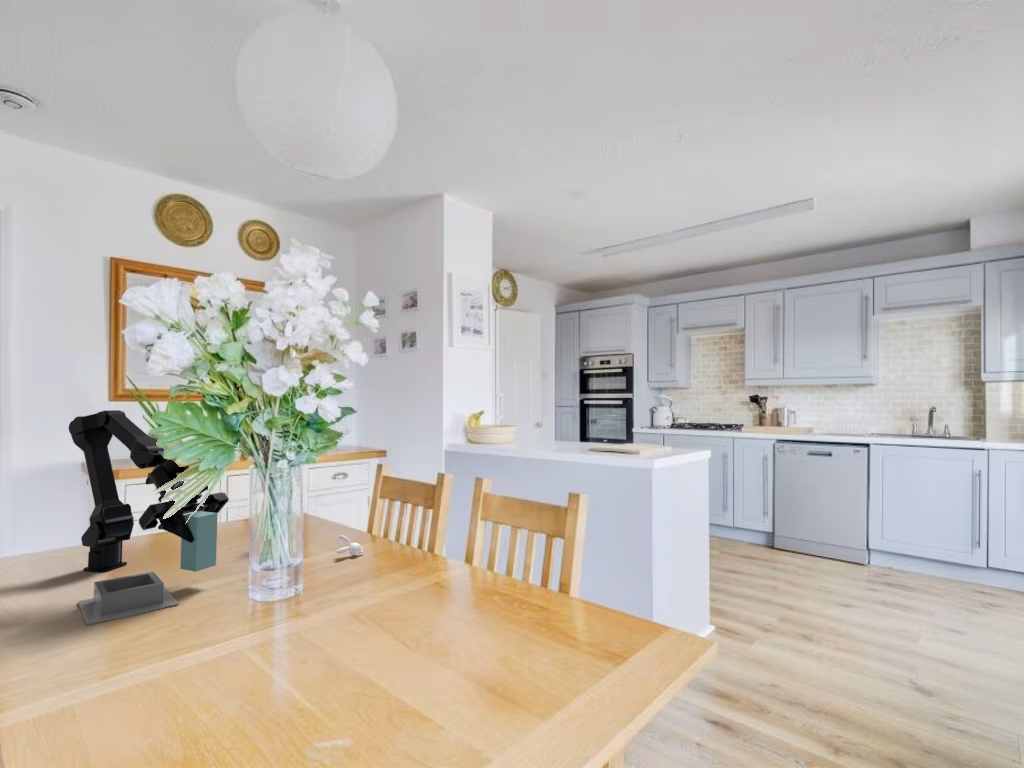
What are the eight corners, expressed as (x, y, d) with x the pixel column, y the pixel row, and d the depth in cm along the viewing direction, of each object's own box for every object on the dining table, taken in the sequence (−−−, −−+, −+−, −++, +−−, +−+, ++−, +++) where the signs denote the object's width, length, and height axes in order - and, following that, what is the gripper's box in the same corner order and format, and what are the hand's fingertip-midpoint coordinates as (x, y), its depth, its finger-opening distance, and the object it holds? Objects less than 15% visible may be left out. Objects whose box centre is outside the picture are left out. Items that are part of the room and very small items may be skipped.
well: (78, 603, 111) (78, 581, 112) (162, 586, 122) (163, 566, 122) (86, 625, 101) (87, 601, 101) (178, 605, 111) (179, 583, 111)
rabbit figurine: (365, 558, 145) (338, 548, 142) (357, 567, 147) (330, 557, 143) (367, 541, 150) (341, 531, 147) (359, 550, 152) (334, 540, 148)
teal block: (180, 568, 121) (182, 515, 121) (200, 562, 126) (202, 511, 126) (195, 571, 119) (197, 517, 119) (215, 565, 124) (217, 513, 124)
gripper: (149, 467, 116) (183, 524, 111) (224, 459, 133) (256, 508, 129) (124, 501, 119) (156, 557, 114) (201, 488, 136) (231, 537, 131)
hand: (203, 538), depth 122 cm, fingers closed on teal block, 5 cm apart
